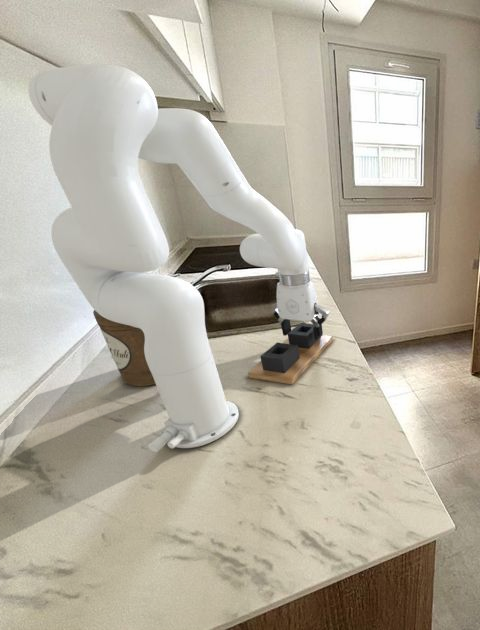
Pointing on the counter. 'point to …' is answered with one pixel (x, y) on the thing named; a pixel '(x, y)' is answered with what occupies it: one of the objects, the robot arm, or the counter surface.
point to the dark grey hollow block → (302, 335)
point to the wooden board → (297, 368)
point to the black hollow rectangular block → (280, 357)
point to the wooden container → (126, 350)
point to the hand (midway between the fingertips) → (302, 335)
